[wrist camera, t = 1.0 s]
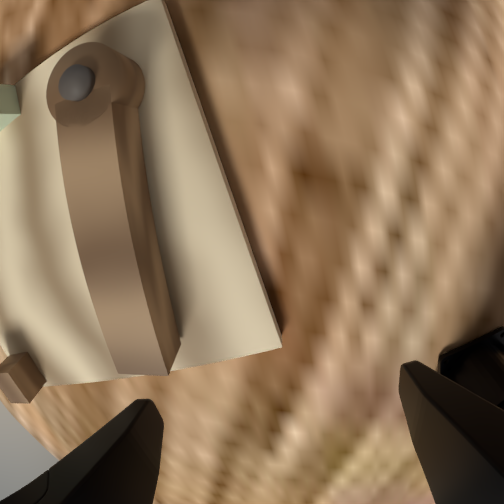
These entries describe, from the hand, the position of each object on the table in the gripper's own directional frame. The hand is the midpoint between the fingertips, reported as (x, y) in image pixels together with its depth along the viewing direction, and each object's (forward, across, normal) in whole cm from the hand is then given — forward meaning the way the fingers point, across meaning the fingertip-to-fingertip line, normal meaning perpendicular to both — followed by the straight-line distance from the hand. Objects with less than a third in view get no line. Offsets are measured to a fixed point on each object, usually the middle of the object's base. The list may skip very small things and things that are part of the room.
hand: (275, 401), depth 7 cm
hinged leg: (+9, +7, -4) cm, 12 cm away
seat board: (+11, +13, -4) cm, 17 cm away
